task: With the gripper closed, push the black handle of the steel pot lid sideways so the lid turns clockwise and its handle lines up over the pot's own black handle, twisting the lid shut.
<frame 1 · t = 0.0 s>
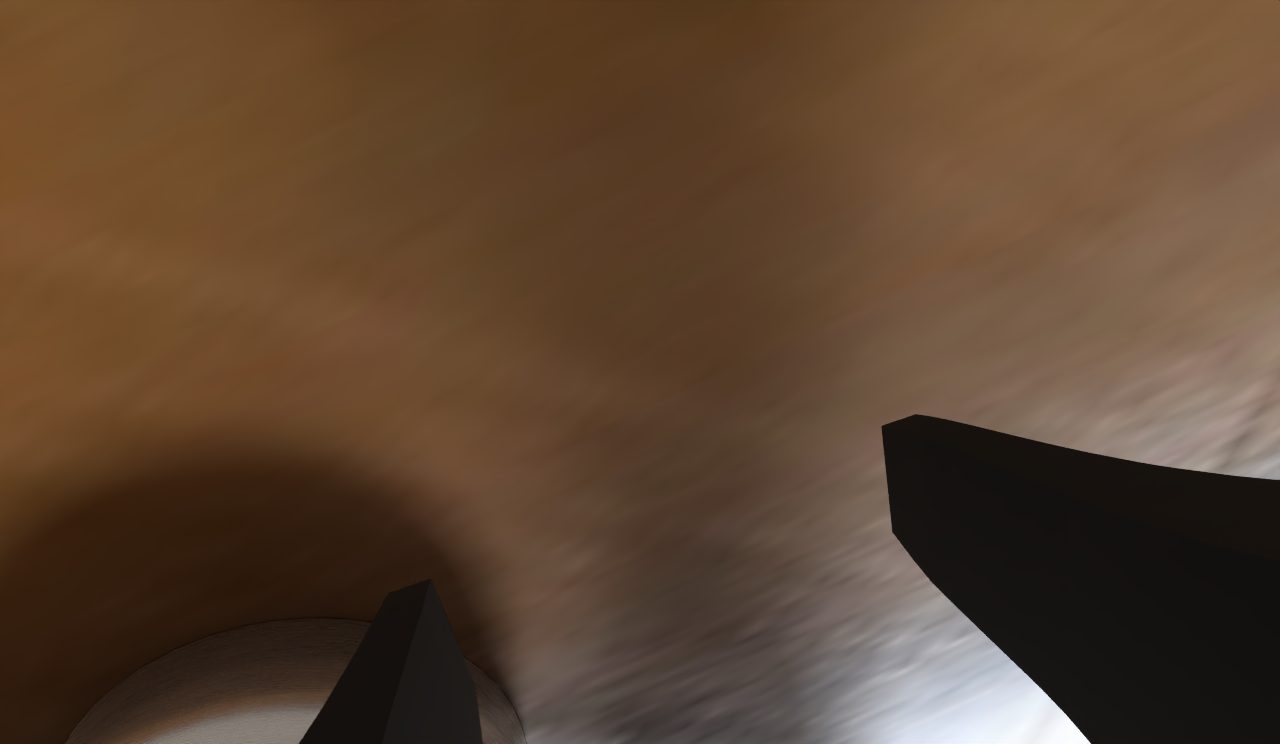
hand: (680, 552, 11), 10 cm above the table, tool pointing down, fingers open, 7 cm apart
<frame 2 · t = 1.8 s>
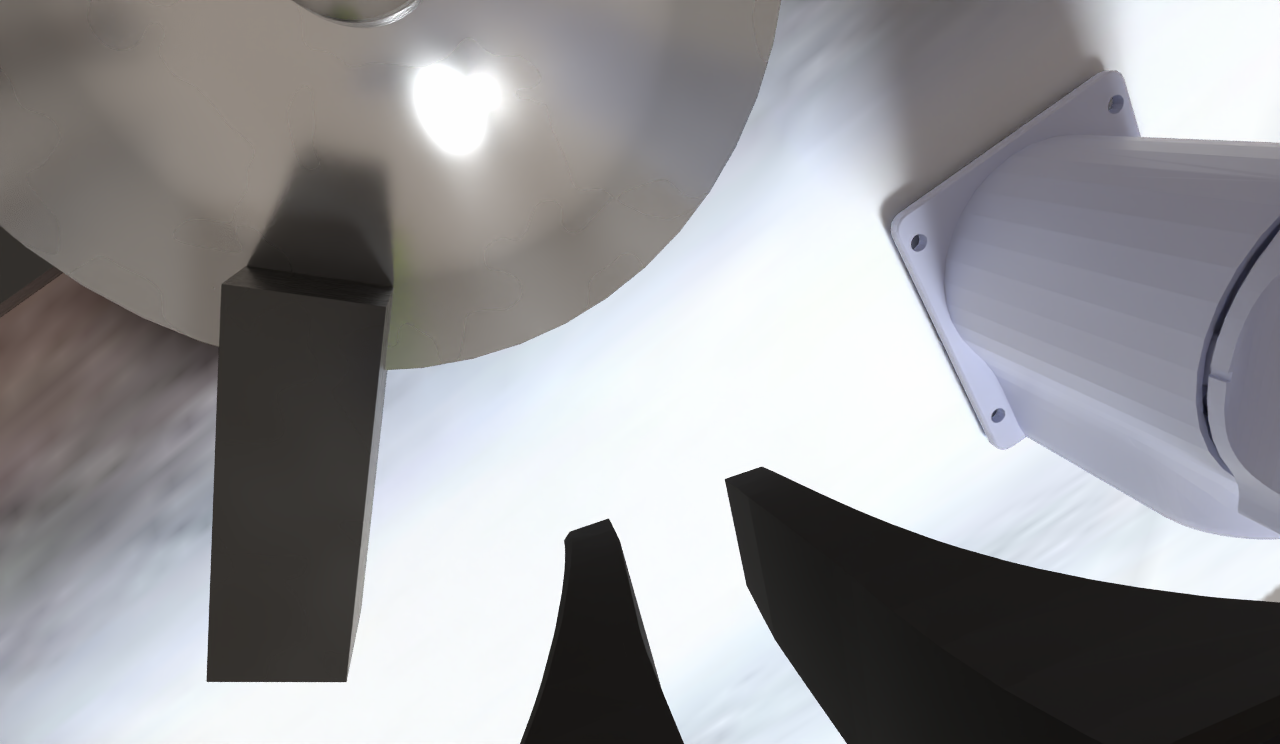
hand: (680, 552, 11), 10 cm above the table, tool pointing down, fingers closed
cooker lid: (331, 123, 12), point 6 cm above the table, hinge at 45.0°
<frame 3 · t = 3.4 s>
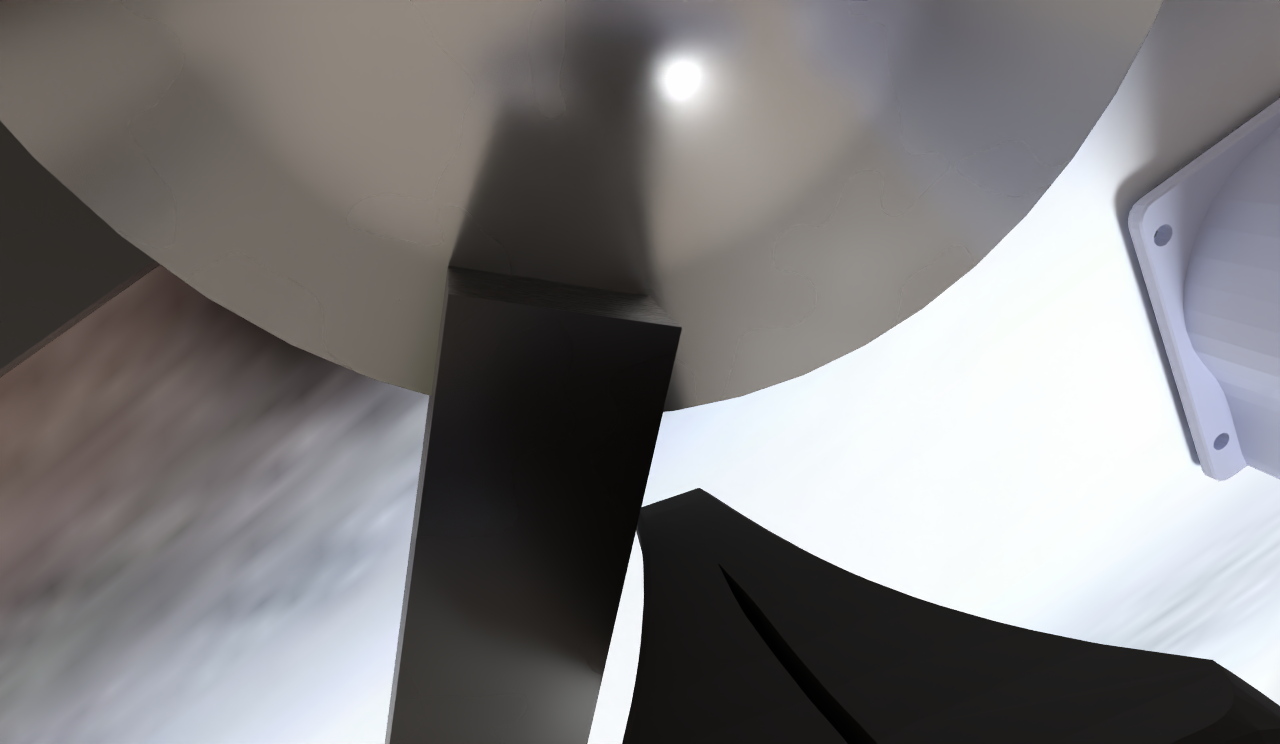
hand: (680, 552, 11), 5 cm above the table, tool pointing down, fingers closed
cooker lid: (597, 44, 8), point 6 cm above the table, hinge at 45.0°, touching gripper
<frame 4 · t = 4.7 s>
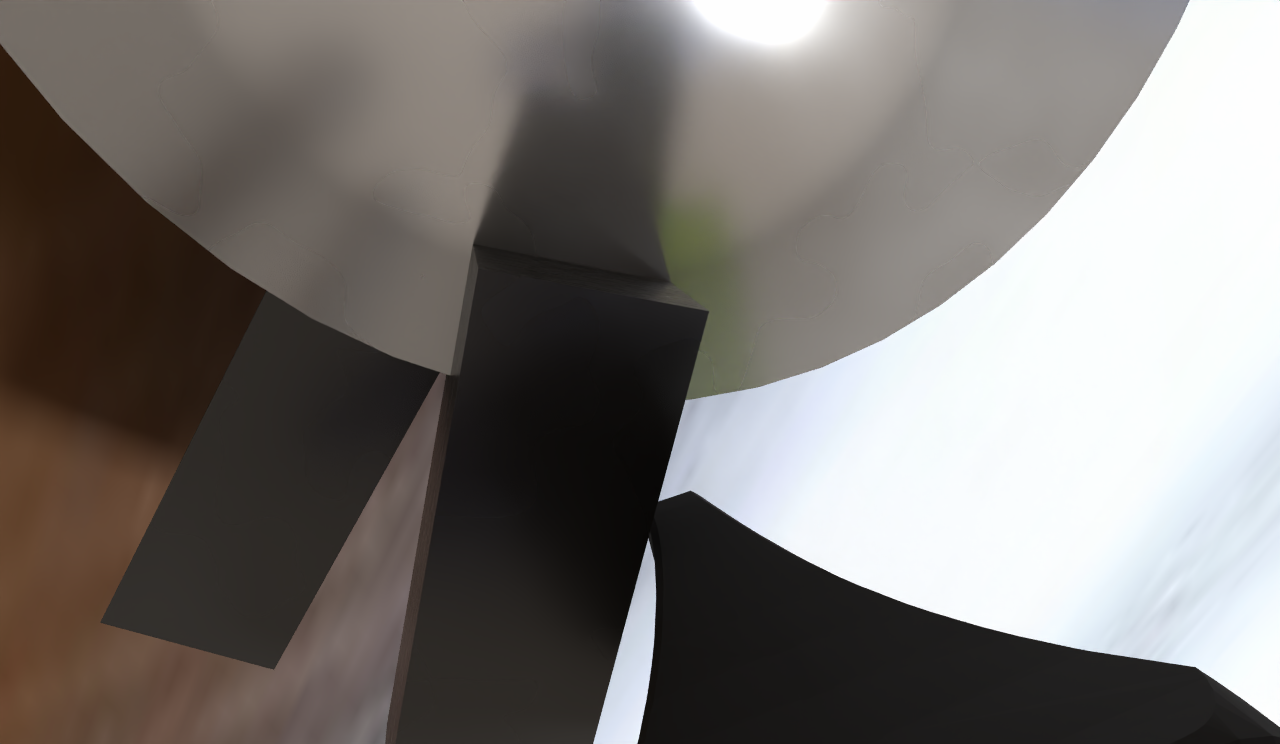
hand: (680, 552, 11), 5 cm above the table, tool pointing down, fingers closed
cooker lid: (632, 25, 8), point 6 cm above the table, hinge at 18.3°, touching gripper
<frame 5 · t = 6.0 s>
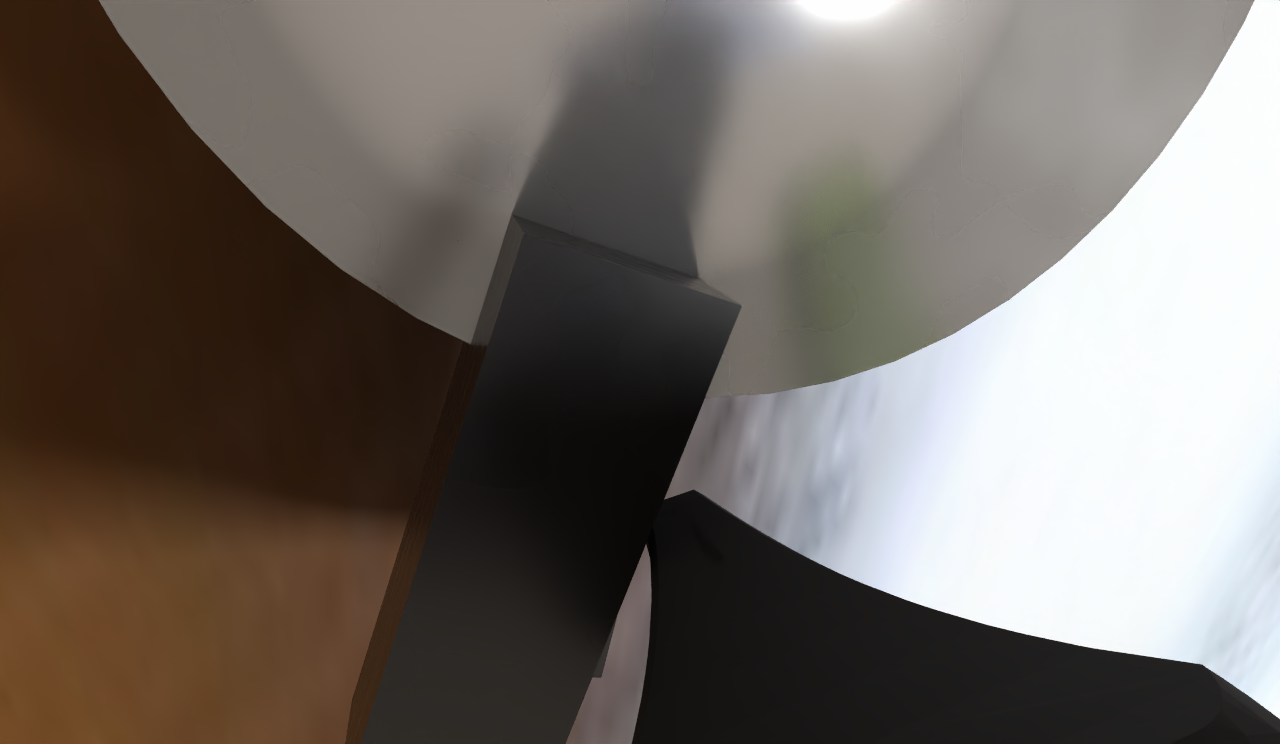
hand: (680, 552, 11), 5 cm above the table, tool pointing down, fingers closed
cooker lid: (697, 18, 8), point 6 cm above the table, hinge at -7.2°, touching gripper
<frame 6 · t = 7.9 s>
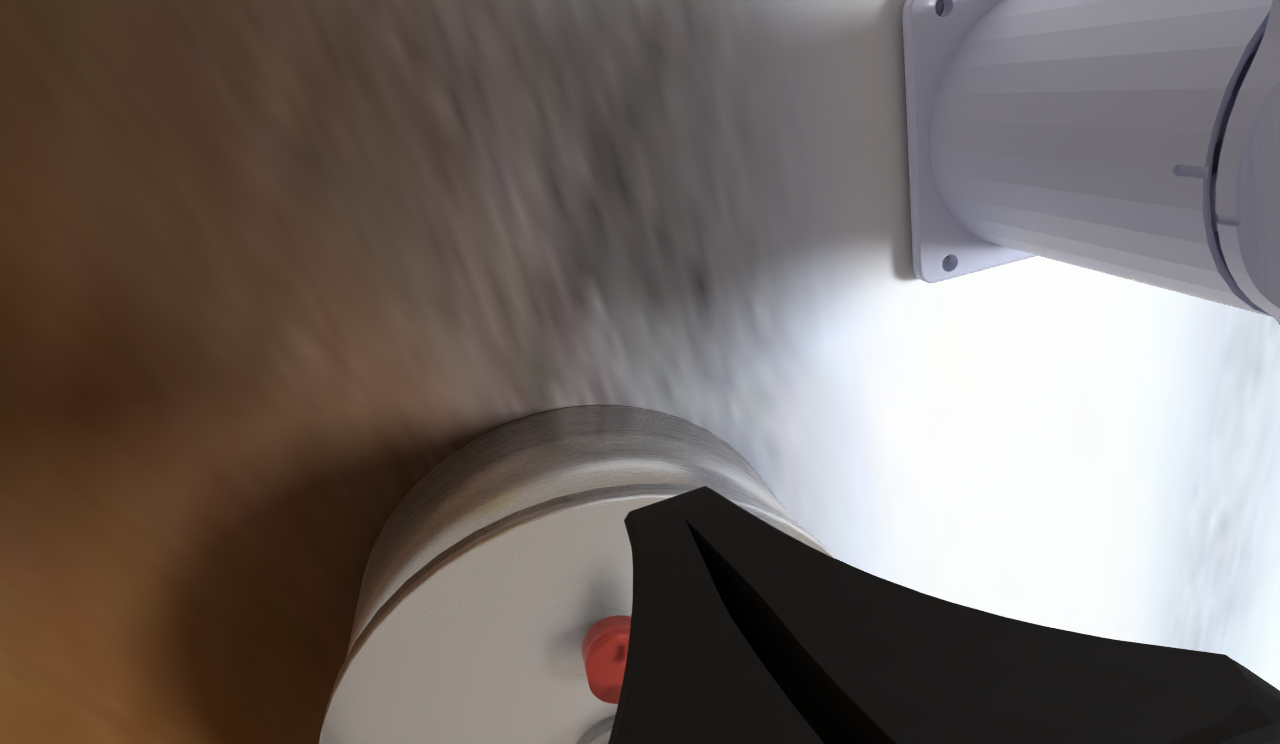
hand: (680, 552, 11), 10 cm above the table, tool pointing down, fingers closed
cooker pot: (587, 603, 24), on the table
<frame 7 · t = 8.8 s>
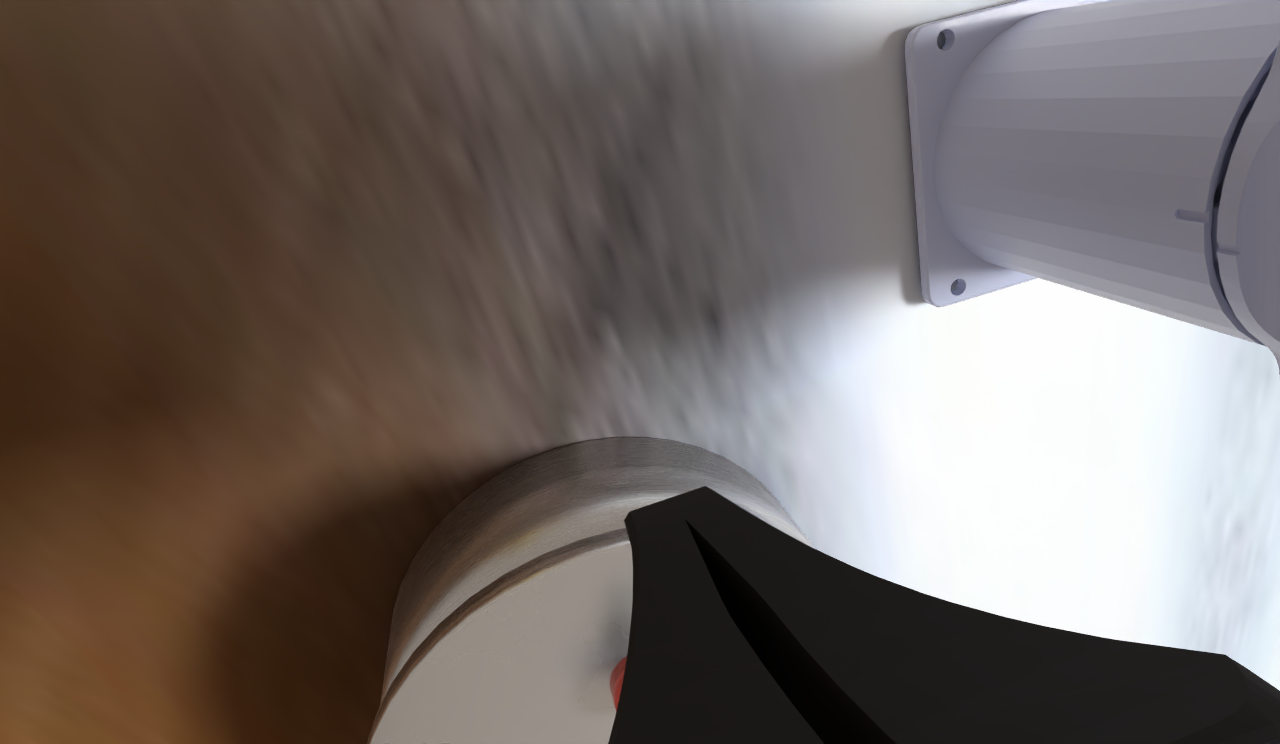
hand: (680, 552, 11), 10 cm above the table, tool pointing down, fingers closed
cooker pot: (610, 628, 24), on the table
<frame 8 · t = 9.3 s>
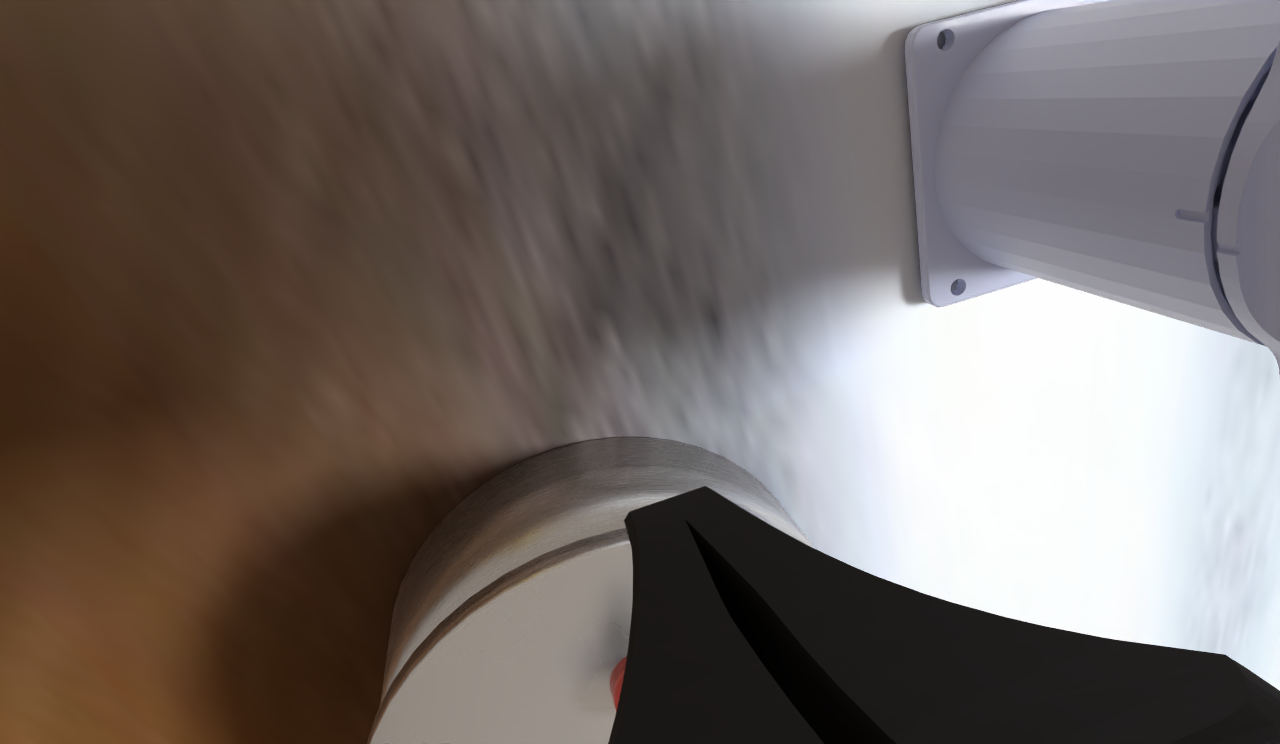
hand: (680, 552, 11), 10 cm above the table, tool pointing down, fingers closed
cooker pot: (610, 628, 24), on the table
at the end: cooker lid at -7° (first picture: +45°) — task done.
